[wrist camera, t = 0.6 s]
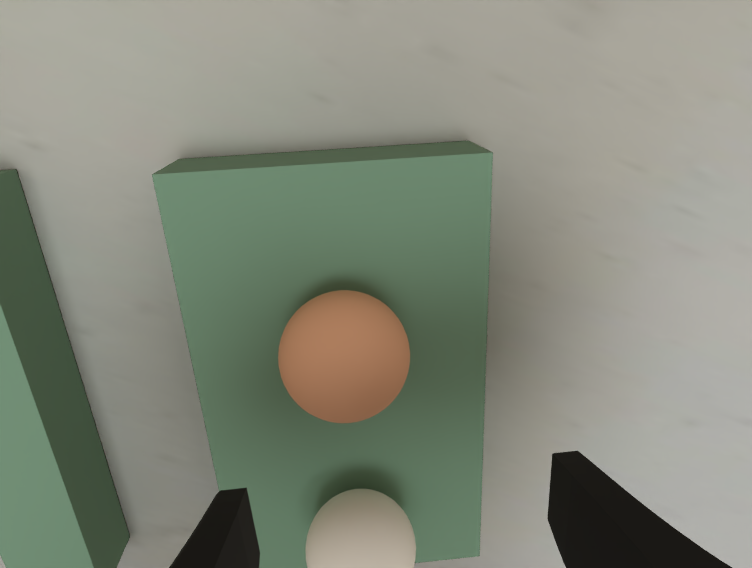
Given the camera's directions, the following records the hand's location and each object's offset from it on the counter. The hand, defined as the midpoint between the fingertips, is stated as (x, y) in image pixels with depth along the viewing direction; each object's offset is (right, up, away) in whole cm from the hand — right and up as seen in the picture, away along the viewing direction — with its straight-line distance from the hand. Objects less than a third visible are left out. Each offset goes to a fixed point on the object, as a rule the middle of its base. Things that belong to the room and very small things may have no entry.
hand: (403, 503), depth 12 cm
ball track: (-6, +2, +9) cm, 11 cm away
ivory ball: (-1, -4, +7) cm, 8 cm away
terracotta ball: (-2, +3, +4) cm, 5 cm away
